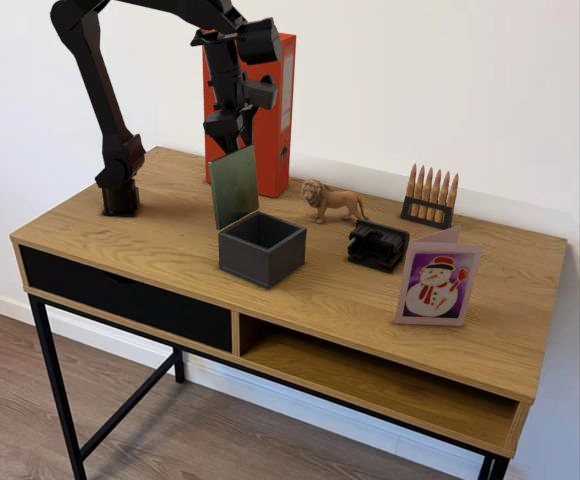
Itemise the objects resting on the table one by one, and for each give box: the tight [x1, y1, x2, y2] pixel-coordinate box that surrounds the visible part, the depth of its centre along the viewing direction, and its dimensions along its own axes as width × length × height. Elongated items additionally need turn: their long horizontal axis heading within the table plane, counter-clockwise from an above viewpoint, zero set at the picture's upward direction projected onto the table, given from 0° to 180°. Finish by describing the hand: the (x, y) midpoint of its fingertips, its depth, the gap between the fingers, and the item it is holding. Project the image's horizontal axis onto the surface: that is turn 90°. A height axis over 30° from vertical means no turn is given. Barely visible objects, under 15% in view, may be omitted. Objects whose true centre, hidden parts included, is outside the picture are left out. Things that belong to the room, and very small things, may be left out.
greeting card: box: [393, 224, 485, 327], centre depth 102 cm, size 11×7×15 cm, turn 90°
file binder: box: [201, 29, 297, 198], centre depth 136 cm, size 8×17×32 cm, turn 67°
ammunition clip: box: [400, 163, 460, 230], centre depth 131 cm, size 11×2×12 cm, turn 62°
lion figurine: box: [300, 178, 370, 226], centre depth 131 cm, size 15×5×9 cm, turn 94°
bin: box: [217, 210, 308, 290], centre depth 115 cm, size 11×12×7 cm
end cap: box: [346, 218, 411, 274], centre depth 119 cm, size 10×7×7 cm
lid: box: [208, 144, 260, 231], centre depth 111 cm, size 12×12×1 cm
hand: (244, 156), depth 120 cm, fingers open, 9 cm apart
